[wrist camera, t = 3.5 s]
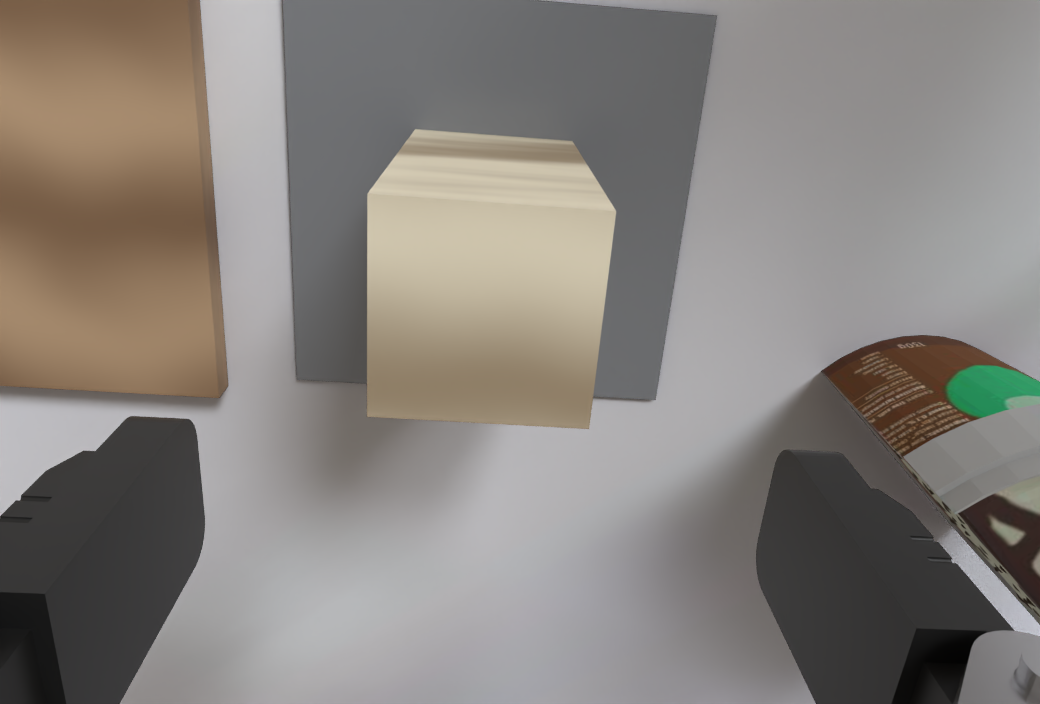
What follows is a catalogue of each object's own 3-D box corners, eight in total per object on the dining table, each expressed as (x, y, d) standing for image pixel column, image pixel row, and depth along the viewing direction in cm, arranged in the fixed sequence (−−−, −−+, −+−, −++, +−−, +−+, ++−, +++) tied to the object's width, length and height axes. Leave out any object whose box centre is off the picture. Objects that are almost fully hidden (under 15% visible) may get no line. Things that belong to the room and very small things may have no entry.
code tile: (283, -21, 23) (281, -22, 23) (715, 15, 24) (717, 15, 24) (298, 377, 28) (296, 379, 28) (654, 397, 29) (655, 400, 29)
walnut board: (-236, -85, 22) (-268, -90, 21) (196, -48, 23) (183, -51, 22) (-119, 365, 28) (-140, 378, 27) (228, 385, 28) (219, 397, 27)
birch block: (415, 128, 25) (367, 193, 16) (572, 141, 25) (616, 211, 16) (411, 280, 27) (366, 416, 18) (557, 289, 27) (588, 429, 18)
